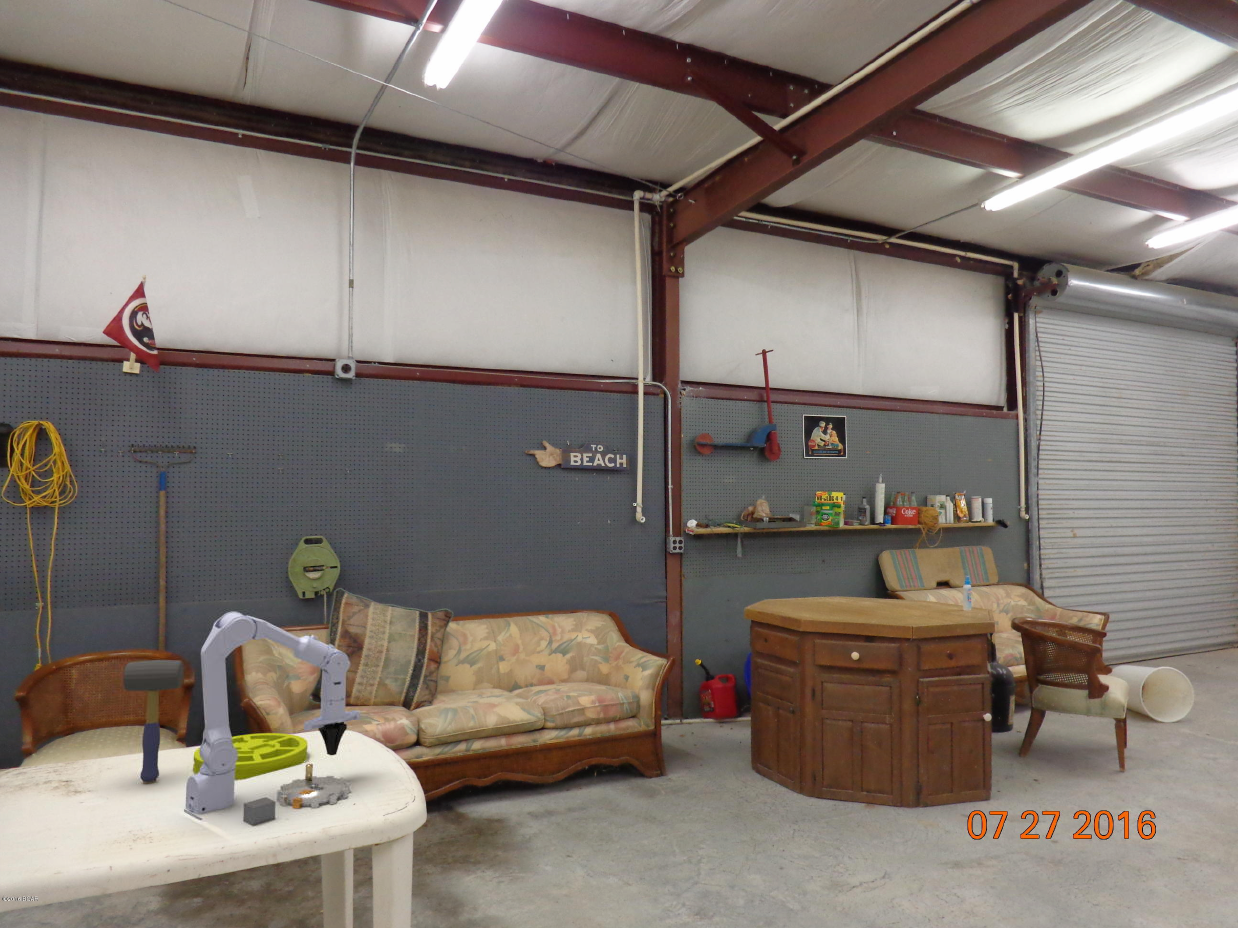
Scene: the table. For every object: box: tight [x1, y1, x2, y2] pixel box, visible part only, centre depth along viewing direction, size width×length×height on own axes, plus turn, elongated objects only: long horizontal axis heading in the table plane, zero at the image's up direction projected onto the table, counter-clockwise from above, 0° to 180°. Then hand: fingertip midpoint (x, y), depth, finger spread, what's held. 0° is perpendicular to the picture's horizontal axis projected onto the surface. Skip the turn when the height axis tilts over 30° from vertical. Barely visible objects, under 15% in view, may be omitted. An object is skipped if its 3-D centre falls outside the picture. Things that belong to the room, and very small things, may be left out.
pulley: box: [192, 732, 308, 781], centre depth 218 cm, size 28×28×5 cm
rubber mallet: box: [122, 659, 184, 784], centre depth 202 cm, size 12×8×30 cm, turn 107°
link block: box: [242, 796, 277, 827], centre depth 176 cm, size 5×4×5 cm
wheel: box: [276, 763, 351, 810], centre depth 191 cm, size 16×16×6 cm
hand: (331, 754), depth 201 cm, fingers closed
